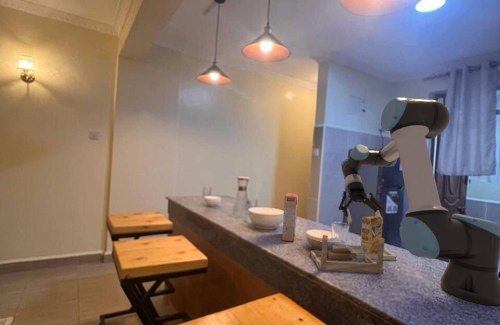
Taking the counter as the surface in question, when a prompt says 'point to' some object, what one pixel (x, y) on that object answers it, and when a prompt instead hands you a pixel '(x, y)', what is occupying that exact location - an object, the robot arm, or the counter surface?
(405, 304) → the counter surface
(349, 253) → the rack
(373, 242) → the candy box
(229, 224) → the counter surface
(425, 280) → the counter surface
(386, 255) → the tray
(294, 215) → the cracker box
